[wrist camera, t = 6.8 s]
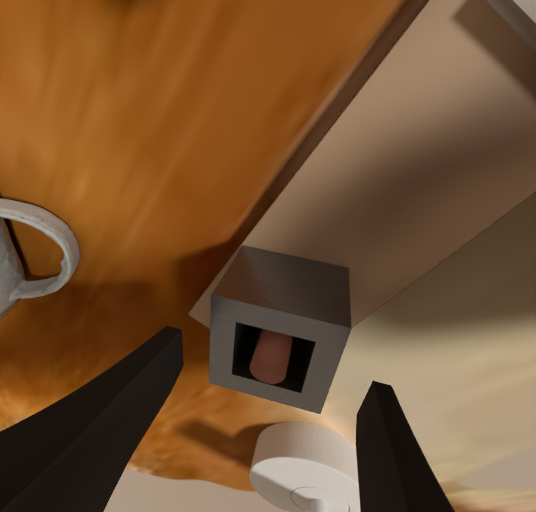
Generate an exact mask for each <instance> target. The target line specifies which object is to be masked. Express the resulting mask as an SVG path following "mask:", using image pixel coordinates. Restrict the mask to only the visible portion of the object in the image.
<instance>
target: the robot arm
mask: <svg viewBox="0 0 536 512" xmlns="http://www.w3.org/2000/svg"><path fill="white" fill-rule="evenodd" d="M182 367H183V346H182V330H180V329H177V328H173V327H169V326H166V327H165V328H163V329H162V330H161V331H159V332H158V333H157V334H155V335H154V336H153V337H152V338H150V339H149V340H148V341H146V342H145V343H144V344H142V345H141V346H140V347H138V348H137V349H136V350H134V351H133V352H132V353H130V354H129V355H127V356H126V357H125V358H123V359H122V360H121V361H119V362H118V363H116V364H115V365H114V366H112V367H111V368H109V369H108V370H106V371H105V372H103V373H102V374H100V375H99V376H97V377H96V378H94V379H93V380H91V381H90V382H88V383H87V384H85V385H84V386H82V387H80V388H79V389H77V390H76V391H74V392H72V393H71V394H69V395H67V396H66V397H64V398H62V399H61V400H59V401H57V402H55V403H54V404H52V405H50V406H48V407H47V408H45V409H43V410H41V411H39V412H37V413H35V414H34V415H32V416H30V417H28V418H26V419H24V420H22V421H20V422H19V423H17V424H15V425H13V426H11V427H9V428H7V429H5V430H3V431H0V512H103V511H104V509H105V507H106V505H107V503H108V501H109V499H110V497H111V495H112V493H113V491H114V489H115V487H116V485H117V483H118V481H119V479H120V477H121V475H122V473H123V471H124V469H125V467H126V465H127V463H128V462H129V460H130V458H131V456H132V455H133V453H134V451H135V449H136V448H137V446H138V444H139V443H140V441H141V440H142V438H143V436H144V435H145V433H146V432H147V430H148V428H149V427H150V425H151V423H152V422H153V420H154V419H155V417H156V415H157V414H158V412H159V411H160V409H161V407H162V406H163V404H164V402H165V401H166V399H167V397H168V396H169V394H170V392H171V391H172V389H173V387H174V384H175V382H176V380H177V378H178V376H179V374H180V372H181V370H182ZM356 456H357V470H358V484H359V497H360V510H361V512H455V511H454V509H453V508H452V506H451V504H450V502H449V501H448V499H447V497H446V495H445V493H444V492H443V490H442V488H441V486H440V484H439V483H438V481H437V479H436V477H435V475H434V473H433V472H432V470H431V468H430V466H429V464H428V462H427V460H426V458H425V456H424V454H423V452H422V450H421V448H420V446H419V444H418V442H417V440H416V438H415V436H414V434H413V432H412V430H411V428H410V426H409V423H408V421H407V419H406V417H405V415H404V413H403V410H402V408H401V406H400V404H399V401H398V399H397V397H396V395H395V392H394V390H393V388H392V386H391V385H387V384H383V383H379V382H376V381H373V382H372V384H371V386H370V388H369V390H368V392H367V394H366V396H365V399H364V401H363V403H362V405H361V407H360V409H359V411H358V413H357V423H356Z"/></svg>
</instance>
